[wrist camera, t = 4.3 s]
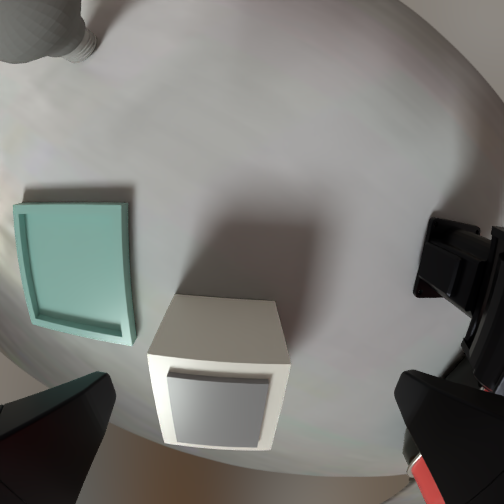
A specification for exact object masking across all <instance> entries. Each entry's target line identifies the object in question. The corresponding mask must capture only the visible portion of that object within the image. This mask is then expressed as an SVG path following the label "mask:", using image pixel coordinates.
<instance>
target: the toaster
mask: <svg viewBox="0 0 504 504" xmlns="http://www.w3.org/2000/svg"><path fill="white" fill-rule="evenodd" d="M445 380H449V381H452V382H455V383H459V384H462V385H466V386H469V387H473V388H476V389H480V390H484V391H487V390H486V389H485V388H483V387H482V385H481V384H480V383H479V381H478V380H477V379H476V378H475V376H474V374H473V368H472V366H471V364H470V362H469V360H468V358H467V356H466V357H465V358H464V359H463V360H462V361H461V362H460V363H459V364H458V365H457V366H456V367H455V369H454V370H453V371H452V372H451V373H450V374H449V375H448V376H447V377H446V378H445ZM487 392H489V391H487ZM403 455H404V457H405V460H406V462H407V464H408V468H407V471H406V472H407V475H408V476H410V477H413V478H415V480H416V482H417V485H418V487H419V489H420V491H421V493H422V495H423V498H424V500H425V502H426V504H445V502H444V500H443V498H442V495H441V493H440V491H439V489H438V487H437V485H436V483H435V481H434V479H433V477H432V475H431V473H430V471H429V469H428V467H427V465H426V463H425V461H424V459H423V457H422V455H421V453H420V452H419V450H418V448H417V446H416V444H415V442H414V440H413V438H412V436H411V435H410V433H409V431H408V429H407V428H406V431H405V436H404V444H403Z"/></svg>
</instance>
